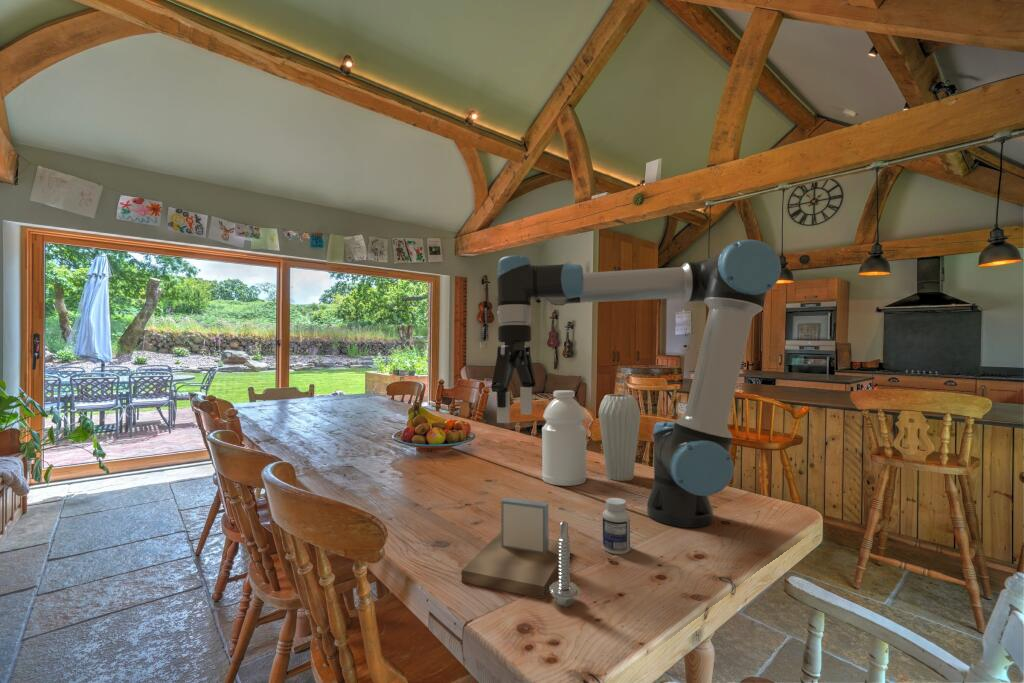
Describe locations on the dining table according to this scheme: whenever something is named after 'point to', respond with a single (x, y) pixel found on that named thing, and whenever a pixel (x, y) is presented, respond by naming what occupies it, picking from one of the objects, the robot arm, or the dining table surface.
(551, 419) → the bottle
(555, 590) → the screw
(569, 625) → the dining table surface
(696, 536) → the dining table surface
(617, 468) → the vase
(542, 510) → the tile
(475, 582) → the board
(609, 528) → the pill bottle
